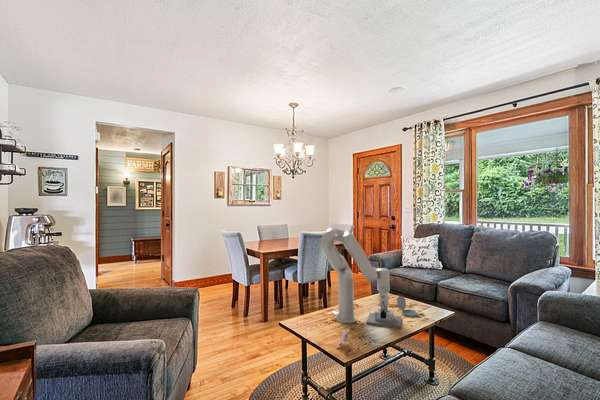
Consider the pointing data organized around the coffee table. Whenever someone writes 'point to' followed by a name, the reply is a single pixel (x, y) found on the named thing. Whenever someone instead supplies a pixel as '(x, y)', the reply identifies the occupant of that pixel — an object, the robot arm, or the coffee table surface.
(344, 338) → the lily
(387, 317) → the slotted block
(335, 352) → the coffee table surface
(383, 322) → the grey piece
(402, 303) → the pocket watch
